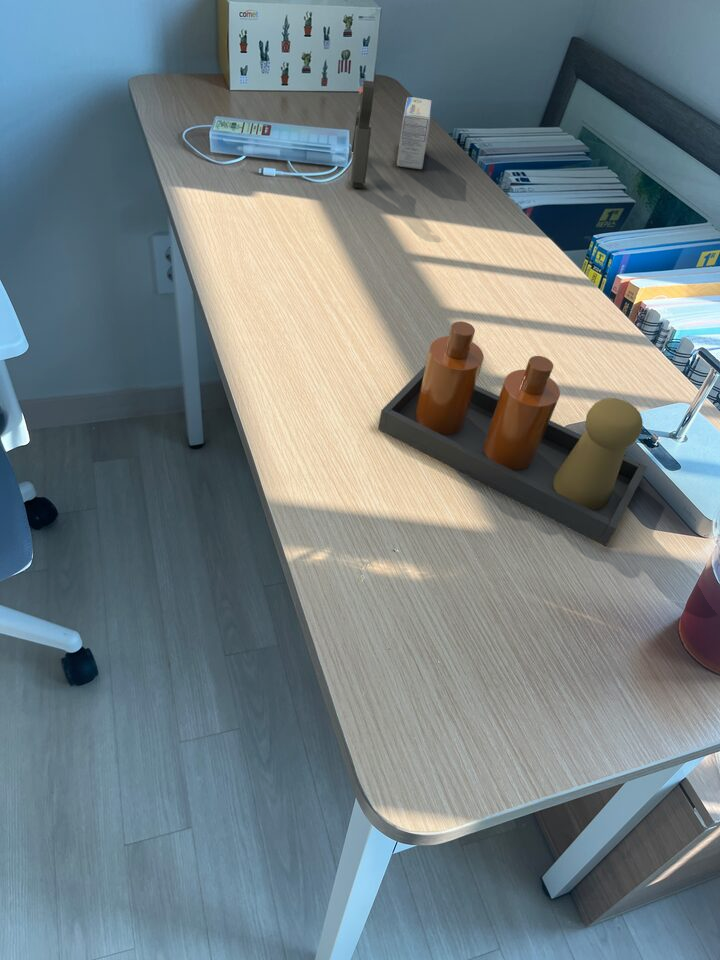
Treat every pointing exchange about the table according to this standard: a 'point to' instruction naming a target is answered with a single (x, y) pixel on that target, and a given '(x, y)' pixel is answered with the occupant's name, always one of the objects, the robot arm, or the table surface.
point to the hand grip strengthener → (362, 135)
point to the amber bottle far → (449, 380)
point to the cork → (599, 453)
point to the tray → (521, 484)
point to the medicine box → (414, 133)
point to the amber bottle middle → (522, 415)
